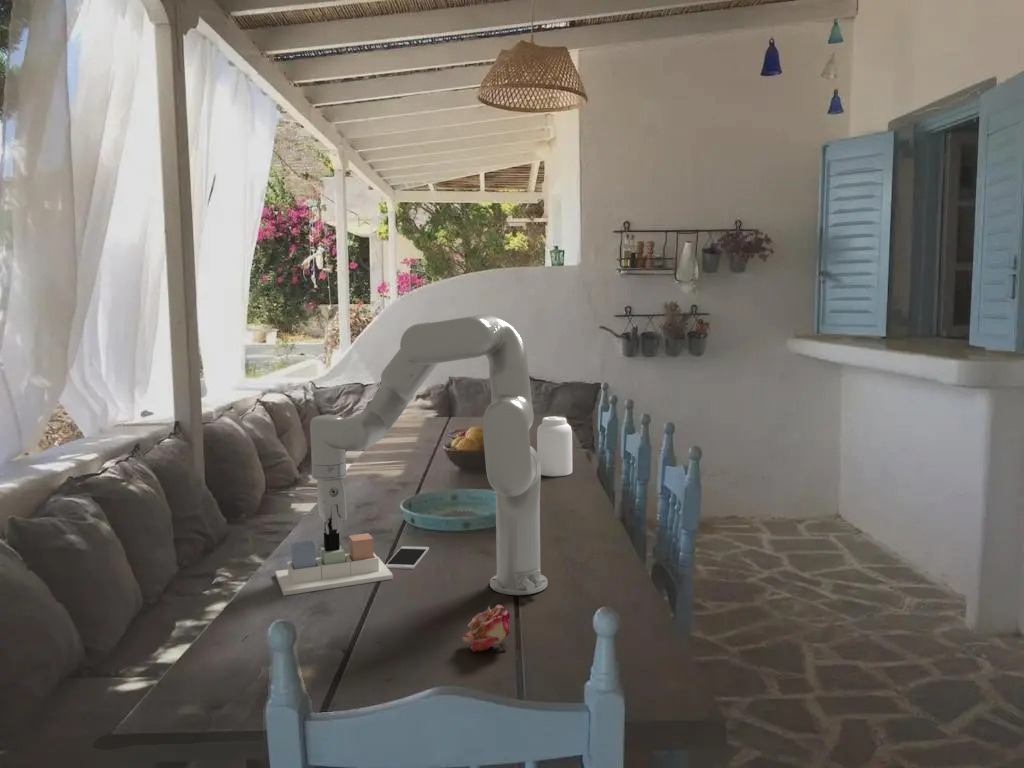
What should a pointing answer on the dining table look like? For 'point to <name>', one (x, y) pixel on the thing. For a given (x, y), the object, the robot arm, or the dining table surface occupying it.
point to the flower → (488, 629)
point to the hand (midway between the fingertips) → (332, 549)
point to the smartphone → (407, 557)
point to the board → (332, 575)
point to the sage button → (332, 556)
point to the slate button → (303, 554)
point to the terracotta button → (361, 547)
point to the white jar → (555, 446)
